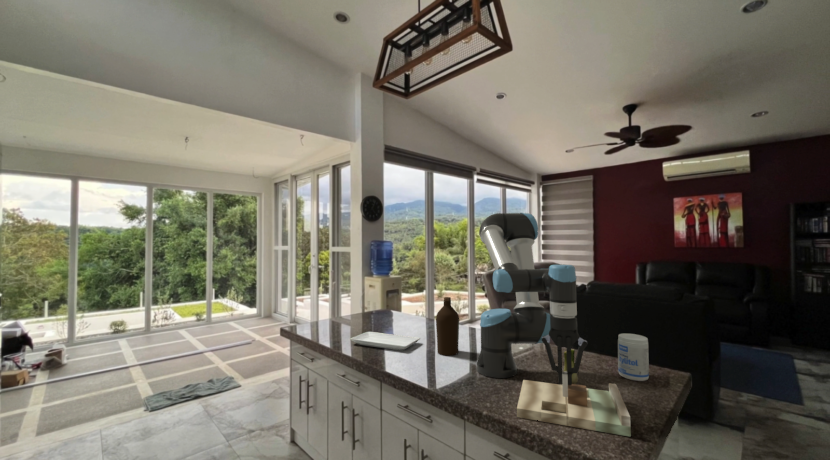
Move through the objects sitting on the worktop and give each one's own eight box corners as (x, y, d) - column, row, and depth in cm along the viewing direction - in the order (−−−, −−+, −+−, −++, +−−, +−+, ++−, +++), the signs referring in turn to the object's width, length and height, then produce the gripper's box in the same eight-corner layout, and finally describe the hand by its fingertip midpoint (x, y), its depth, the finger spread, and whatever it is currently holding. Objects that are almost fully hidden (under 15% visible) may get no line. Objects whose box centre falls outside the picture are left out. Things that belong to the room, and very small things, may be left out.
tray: (367, 337, 186) (367, 330, 186) (421, 344, 172) (420, 337, 172) (348, 345, 170) (348, 338, 170) (405, 354, 157) (405, 346, 157)
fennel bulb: (573, 381, 124) (572, 347, 124) (582, 386, 119) (581, 351, 119) (558, 382, 123) (557, 348, 123) (566, 388, 118) (566, 352, 118)
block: (568, 403, 101) (567, 389, 101) (567, 396, 106) (567, 383, 106) (587, 406, 99) (586, 392, 99) (586, 399, 104) (585, 385, 104)
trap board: (517, 417, 99) (516, 399, 99) (523, 387, 119) (523, 372, 119) (630, 436, 88) (630, 416, 88) (616, 400, 108) (616, 384, 109)
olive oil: (440, 357, 151) (439, 299, 152) (433, 350, 161) (432, 296, 162) (463, 355, 153) (462, 298, 154) (455, 348, 163) (454, 295, 164)
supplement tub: (616, 377, 127) (614, 337, 127) (621, 370, 134) (619, 331, 135) (647, 384, 121) (646, 341, 121) (651, 376, 128) (649, 335, 128)
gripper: (539, 316, 104) (541, 396, 103) (588, 319, 99) (590, 404, 98) (541, 312, 111) (542, 387, 110) (586, 314, 106) (588, 393, 105)
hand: (565, 394), depth 104 cm, fingers closed
